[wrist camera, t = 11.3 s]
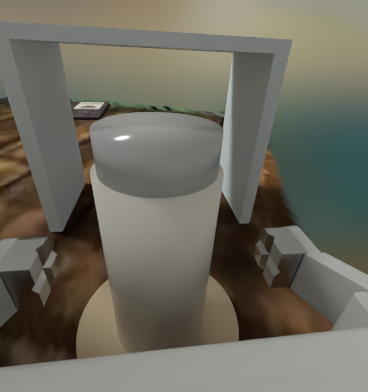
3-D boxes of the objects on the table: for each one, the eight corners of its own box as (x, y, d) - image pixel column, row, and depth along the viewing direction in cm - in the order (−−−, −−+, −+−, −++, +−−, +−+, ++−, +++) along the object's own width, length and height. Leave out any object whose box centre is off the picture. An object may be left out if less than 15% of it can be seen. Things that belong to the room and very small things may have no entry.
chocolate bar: (55, 116, 52) (76, 102, 67) (56, 121, 53) (76, 105, 68) (98, 117, 53) (109, 102, 69) (99, 121, 54) (109, 106, 69)
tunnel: (249, 223, 23) (292, 39, 15) (50, 232, 20) (-17, 19, 13) (224, 180, 30) (244, 43, 23) (76, 183, 28) (44, 31, 20)
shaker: (156, 389, 11) (150, 168, 5) (100, 318, 14) (55, 122, 8) (218, 317, 14) (256, 129, 8) (162, 271, 17) (162, 106, 11)
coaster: (152, 494, 9) (152, 491, 8) (49, 324, 14) (46, 318, 13) (265, 322, 14) (267, 316, 14) (163, 247, 20) (163, 242, 19)
